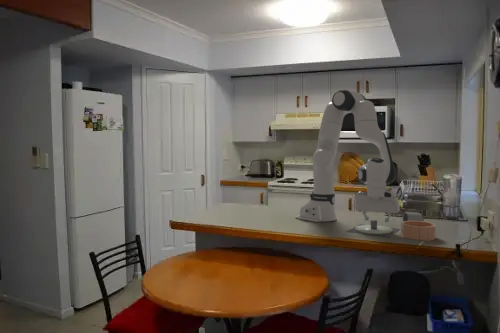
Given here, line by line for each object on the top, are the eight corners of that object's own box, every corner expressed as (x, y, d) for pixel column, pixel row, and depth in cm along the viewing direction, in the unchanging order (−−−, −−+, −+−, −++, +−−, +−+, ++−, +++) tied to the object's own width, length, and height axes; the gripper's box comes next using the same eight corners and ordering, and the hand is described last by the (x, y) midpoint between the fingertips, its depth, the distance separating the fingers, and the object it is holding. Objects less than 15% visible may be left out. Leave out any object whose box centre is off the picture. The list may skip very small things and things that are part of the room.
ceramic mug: (424, 228, 201) (424, 213, 201) (407, 228, 201) (408, 213, 201) (415, 224, 212) (415, 209, 211) (399, 224, 212) (400, 209, 211)
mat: (345, 232, 193) (346, 231, 193) (360, 225, 210) (360, 224, 210) (389, 238, 182) (389, 237, 182) (400, 230, 199) (400, 229, 199)
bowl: (398, 238, 183) (398, 224, 183) (405, 232, 195) (406, 219, 194) (431, 242, 175) (432, 228, 175) (437, 235, 187) (438, 222, 186)
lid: (350, 231, 194) (350, 221, 193) (362, 225, 208) (362, 215, 208) (386, 236, 184) (387, 225, 184) (396, 229, 198) (397, 219, 198)
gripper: (353, 192, 198) (353, 220, 199) (397, 194, 187) (397, 224, 188) (357, 190, 203) (357, 218, 204) (400, 192, 192) (400, 221, 193)
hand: (376, 221), depth 196 cm, fingers open, 8 cm apart
